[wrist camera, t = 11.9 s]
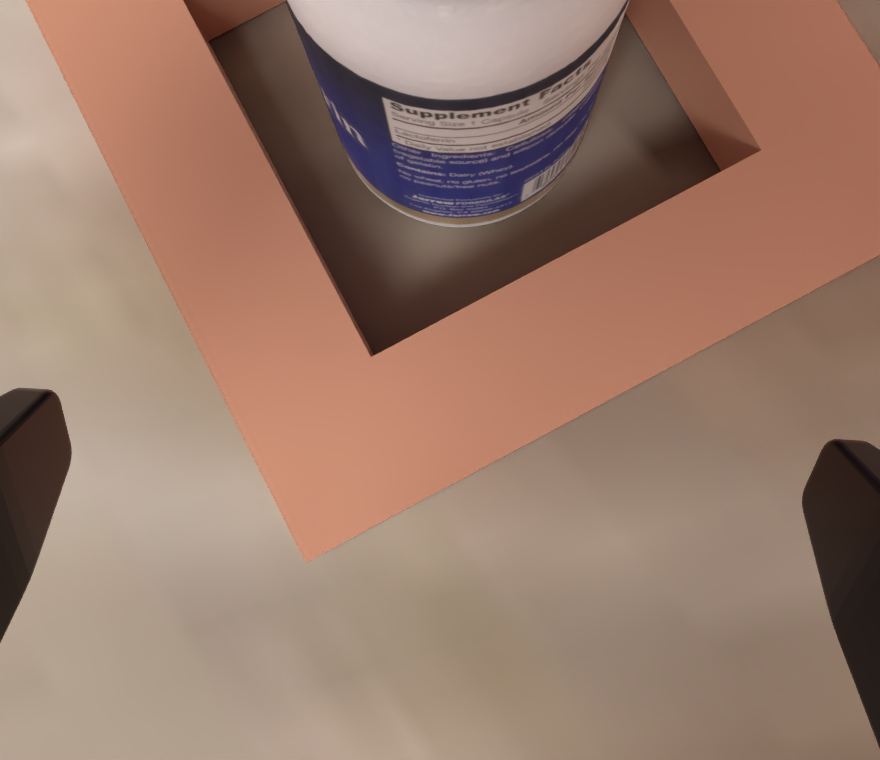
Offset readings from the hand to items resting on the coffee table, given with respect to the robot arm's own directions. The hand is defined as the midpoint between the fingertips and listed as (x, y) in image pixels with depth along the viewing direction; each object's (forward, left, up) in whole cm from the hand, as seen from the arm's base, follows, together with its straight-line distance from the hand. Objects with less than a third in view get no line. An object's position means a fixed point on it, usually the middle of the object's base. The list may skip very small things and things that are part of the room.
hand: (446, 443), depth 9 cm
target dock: (+7, -4, -8) cm, 12 cm away
